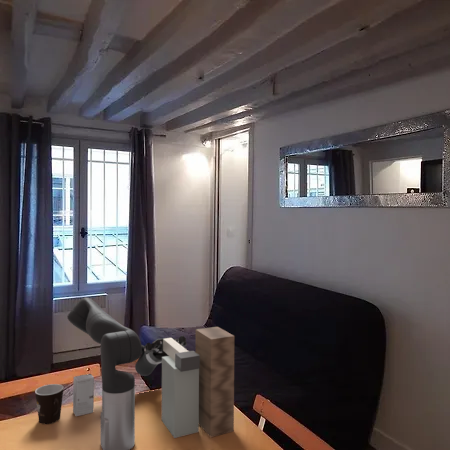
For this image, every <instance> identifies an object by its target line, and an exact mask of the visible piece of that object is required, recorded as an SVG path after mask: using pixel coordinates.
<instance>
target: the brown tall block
mask: <svg viewBox="0 0 450 450" xmlns="http://www.w3.org/2000/svg"><path fill="white" fill-rule="evenodd" d="M194 350H195V351H194V352H196V353H197V354H198V355H200V369H199V427H201V428H202V429H203V431H204V432H205V433H206V434H207V435H208V436H209V437H210V438H213V437H217V436H220V435H224V434H228V433H233V432H234V431H235V430H234V429H235V426H234V425H235V424H234V423H235V421H234V420H235V335H234V334H231V333H229V332H228V331H226V330H225V329H223V328H221V327H219V326H212V327H206V328H205V327H202V328H197V329H195V349H194Z"/></svg>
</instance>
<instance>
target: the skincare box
mask: <svg viewBox="0 0 450 450" xmlns="http://www.w3.org/2000/svg"><path fill="white" fill-rule="evenodd" d="M72 384H73V385H72V386H73V391H72V394H73V395H72V401H73V402H72V412H73V414H74V416H75V417H78V416H85V415H88V414H92V413H93V412H94V406H95V405H94V400H95V399H94V397H95V396H94V394H95V377H94V376H93V375H92V374H91V373H88V374H80V375H75V376H73V383H72Z"/></svg>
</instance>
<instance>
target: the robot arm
mask: <svg viewBox="0 0 450 450" xmlns="http://www.w3.org/2000/svg"><path fill="white" fill-rule="evenodd" d="M67 320H68V321H69V322H70V324H71V325H73V326H74V327H76V328H77V329H78V330H80V331H82V332H84V333H85V334H87V335H88V336H89V337H90V338H91V339H92V340H93V341H94V342H95V343H97V344H99V345H100V359H101V360H100V361H101V367H100V368H101V386H102V387H101V389H102V390H101V393H102V394H101V395H102V396H101V407H102V409H101V412H100V446H101V449H102V450H131V449H133V447H134V446H135V443H136V442H135V440H136V439H135V438H136V434H135V433H136V431H135V429H136V428H135V426H136V424H135V420H136V419H135V418H136V417H135V416H136V415H135V414H136V412H135V410H136V407H135V406H136V405H135V404H136V403H135V401H136V400H135V399H136V395H135V392H136V391H135V389H136V388H135V387H136V382H135V381H136V380H135V375H133V374H132V373H130V372H126V371H123V370H122V371H121V370H117V369H116V366H121V365H125V364H129V363H133V362H135V361H136V362H135V366H134V369H135V371H136V373H137V374H138V375H140V376H143V377H146V376H147V377H148V376H149V375H151V374H152V373H153V372H154V370H155V368H156V367H157V366H158V365H160V364H162V357H165V356H169V355H168V354H166V353H165V352H164V351H163V339H164V338H157V339H156V340H155V341H153V342H152V343H151V342H147V343H145V345H144V344H142V342H141V339H140V337H139V335H138V334H137V332H135V331H134V330H133V329H131V328H129V327H126V326H124V325H122V324H121V323H120V322H119V321H117V320H116V318H114V317H113V316H111V314H110V313H108V312H106V311H105V310H104V309H103V308H102V307H101V306H100V305H99V304H98V302H96V300H93V299H91V298H90V297H83V298H81V299H80V300H79V301H78V302H77V303H76V305H74V307H73V308H72V309H71V310H70V311H69V313H68V314H67ZM173 339H174V340H175V341H176V342H177V343H179V344H180V345H181V346H183V347H184V348H186V346H187V345H188V343H187V338H186V337H185V336H184V335H181V336H180V337H177V338H173Z"/></svg>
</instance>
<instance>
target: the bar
mask: <svg viewBox="0 0 450 450" xmlns="http://www.w3.org/2000/svg"><path fill="white" fill-rule="evenodd" d="M162 339H163V351H164V352H165V353H166V354H168V355H169V356H170V357H171V358H172V359H173V360H174V361H175V367H176V368H177V369H179V370H180V371H181V372H183V371H189V370H194V369H200V355H198V354H197V353H196V352H195V351H194V350H187V348H186V347H183V346H181V345H180V344H179V343H178V341H177V342H176V341H175V340H174V339H175V338H172V337H167V338H162Z"/></svg>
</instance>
